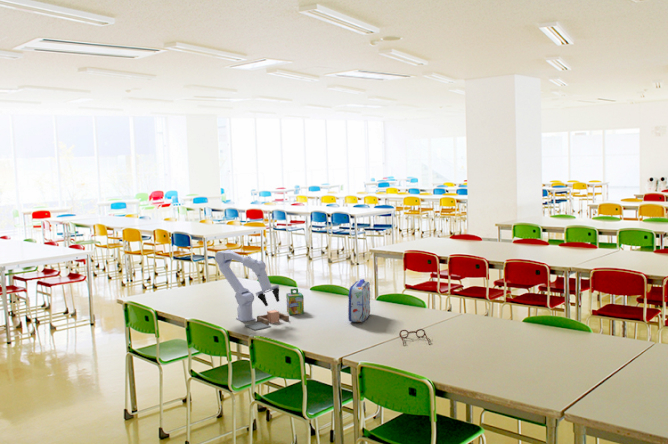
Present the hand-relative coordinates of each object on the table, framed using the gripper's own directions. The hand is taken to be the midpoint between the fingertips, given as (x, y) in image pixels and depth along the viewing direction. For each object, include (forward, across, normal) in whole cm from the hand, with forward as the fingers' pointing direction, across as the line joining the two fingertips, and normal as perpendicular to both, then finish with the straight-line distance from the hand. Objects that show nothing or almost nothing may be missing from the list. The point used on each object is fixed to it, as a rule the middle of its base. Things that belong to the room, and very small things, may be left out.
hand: (272, 303), depth 330 cm
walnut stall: (+10, 0, +7) cm, 12 cm away
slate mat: (+9, -12, +3) cm, 15 cm away
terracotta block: (+10, 0, +6) cm, 12 cm away
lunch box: (+26, +39, -19) cm, 51 cm away
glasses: (+44, +32, -68) cm, 87 cm away
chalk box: (+10, +20, +15) cm, 27 cm away
